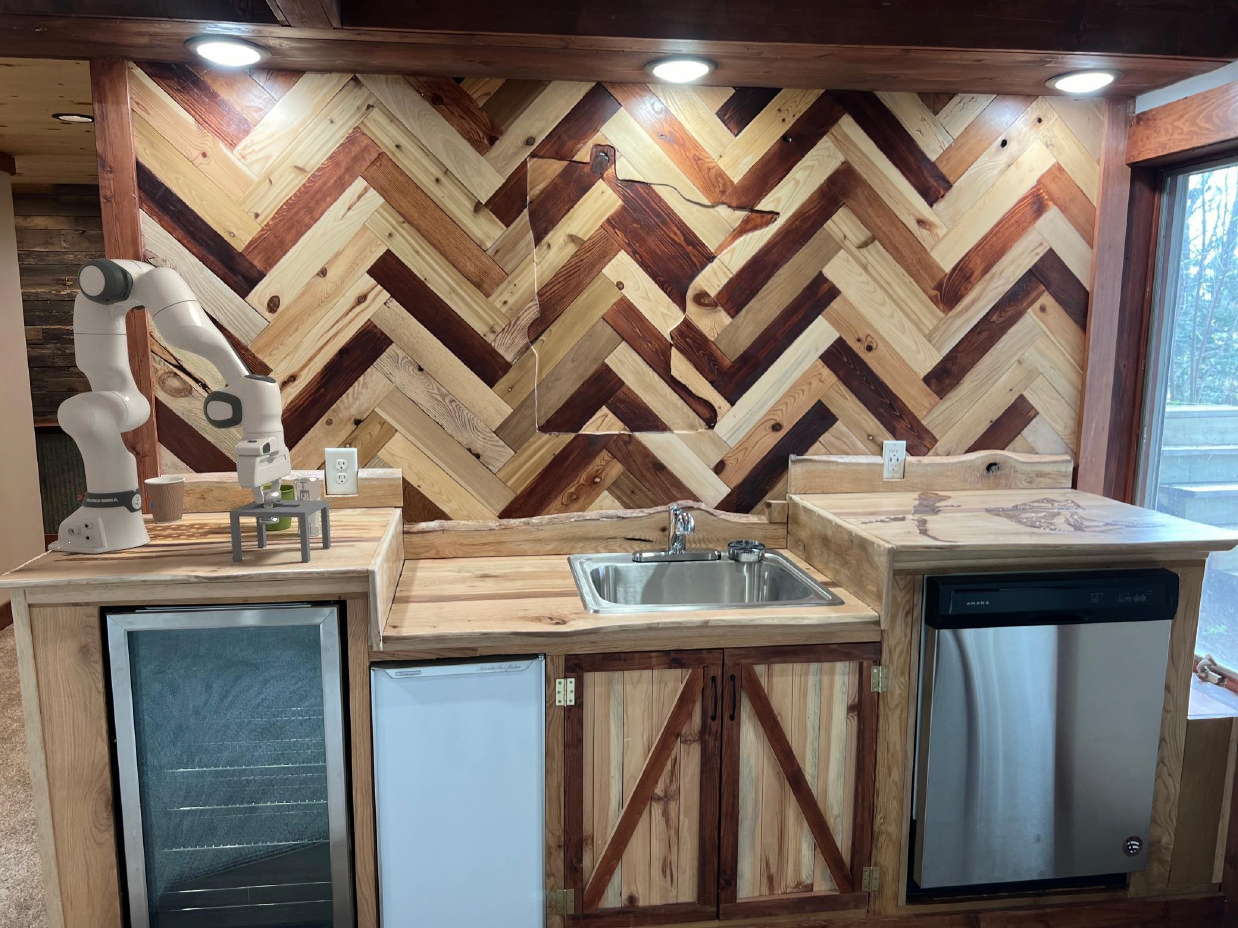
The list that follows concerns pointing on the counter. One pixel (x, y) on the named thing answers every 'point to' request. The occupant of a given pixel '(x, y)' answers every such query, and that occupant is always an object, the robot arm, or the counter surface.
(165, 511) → the coffee cup
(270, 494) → the steel peg
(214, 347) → the robot arm
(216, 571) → the counter surface
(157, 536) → the counter surface
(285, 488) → the plant pot
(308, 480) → the beer glass
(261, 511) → the keyhole stand
